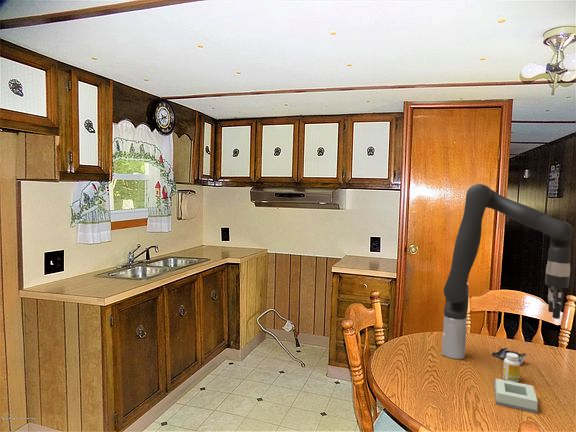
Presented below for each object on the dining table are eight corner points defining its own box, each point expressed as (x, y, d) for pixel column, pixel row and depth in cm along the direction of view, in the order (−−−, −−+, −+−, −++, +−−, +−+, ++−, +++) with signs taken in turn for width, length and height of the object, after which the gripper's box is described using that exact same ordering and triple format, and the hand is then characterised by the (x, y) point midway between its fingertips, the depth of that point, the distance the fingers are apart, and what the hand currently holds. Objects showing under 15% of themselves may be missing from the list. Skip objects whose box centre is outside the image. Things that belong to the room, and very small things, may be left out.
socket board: (496, 404, 131) (496, 393, 131) (493, 382, 146) (494, 372, 146) (538, 413, 126) (538, 401, 126) (531, 389, 141) (531, 379, 141)
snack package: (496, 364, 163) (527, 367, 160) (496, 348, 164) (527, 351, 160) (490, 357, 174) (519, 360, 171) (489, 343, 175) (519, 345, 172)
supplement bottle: (499, 377, 150) (501, 353, 150) (508, 374, 153) (510, 350, 152) (513, 383, 146) (514, 358, 145) (522, 380, 148) (523, 356, 147)
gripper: (542, 269, 156) (539, 308, 158) (549, 275, 143) (545, 318, 145) (565, 271, 153) (561, 311, 154) (574, 278, 140) (569, 322, 142)
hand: (553, 315), depth 150 cm, fingers open, 8 cm apart
